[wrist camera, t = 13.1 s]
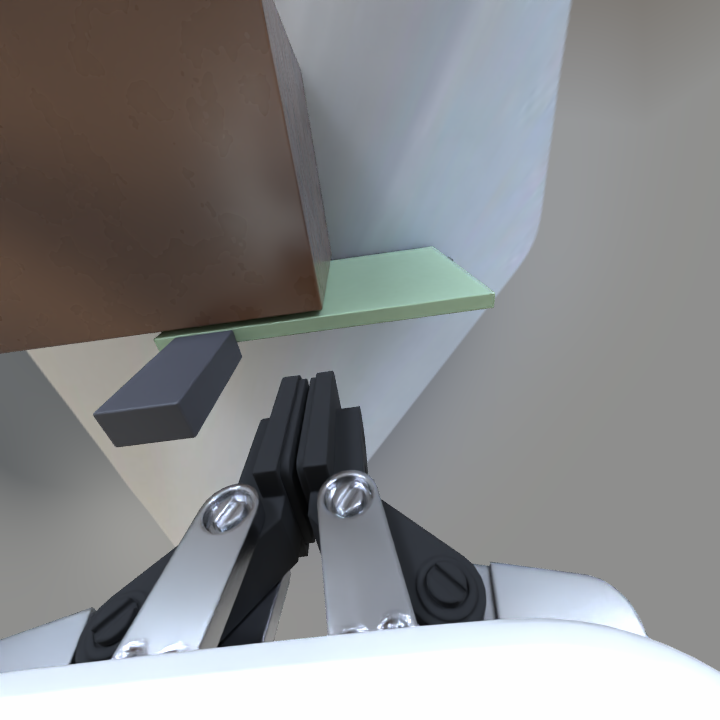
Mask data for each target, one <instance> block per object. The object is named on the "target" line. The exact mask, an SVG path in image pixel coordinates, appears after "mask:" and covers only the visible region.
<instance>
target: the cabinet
mask: <svg viewBox="0 0 720 720" xmlns="http://www.w3.org/2000/svg"><path fill="white" fill-rule="evenodd" d="M331 256H332V254H331V248H330V242H329V236H328V230H327V224H326V218H325V212H324V206H323V200H322V194H321V188H320V182H319V176H318V170H317V164H316V158H315V152H314V146H313V140H312V134H311V128H310V122H309V116H308V110H307V104H306V98H305V92H304V86H303V80H302V74H301V69H300V67H299V64H298V62H297V59H296V57H295V54H294V52H293V49H292V47H291V44H290V42H289V39H288V37H287V34H286V31H285V29H284V26H283V24H282V21H281V19H280V16H279V14H278V11H277V9H276V6H275V4H274V1H273V0H0V354H1V353H9V352H16V351H23V350H31V349H38V348H45V347H53V346H60V345H67V344H75V343H82V342H89V341H97V340H104V339H111V338H118V337H126V336H133V335H140V334H148V333H155V332H162V331H170V330H177V329H184V328H192V327H199V326H206V325H214V324H221V323H228V322H236V321H243V320H250V319H258V318H265V317H272V316H280V315H287V314H294V313H302V312H309V311H316V310H321V309H322V307H323V302H324V296H325V290H326V285H327V279H328V273H329V267H330V261H331ZM448 258H449V259H450V260H452V259H451V258H450V257H448ZM452 261H453V260H452Z"/></svg>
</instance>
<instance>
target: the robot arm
mask: <svg viewBox="0 0 720 720" xmlns="http://www.w3.org/2000/svg"><path fill="white" fill-rule="evenodd" d="M315 539H316V541H317V544H318V547H319V550H320V553H321V558H322V570H323V582H324V594H325V607H326V619H327V631H328V636H321V637H312V638H303V639H293V640H283V641H274V639H275V635H276V631H277V627H278V624H279V620H280V616H281V613H282V609H283V605H284V601H285V598H286V594H287V590H288V586H289V583H290V576H291V572H290V569H291V568H292V567H293V566H294V565H295V564H296V563H297V562H298V558H299V557H304V556H308V549H309V543H314V542H315ZM0 720H720V672H719V671H717V670H715V669H713V668H712V667H710V666H708V665H707V664H705V663H703V662H701V661H699V660H698V659H696V658H694V657H692V656H690V655H687V654H685V653H683V652H681V651H679V650H677V649H674V648H672V647H670V646H668V645H666V644H663V643H660V642H658V641H654V640H652V639H649V638H648V636H647V633H646V631H645V629H644V627H643V625H642V623H641V621H640V618H639V616H638V615H637V613H636V611H635V610H634V608H633V607H632V605H631V604H630V602H629V601H628V600H627V599H626V598H625V597H624V596H623V595H622V594H621V593H620V592H619V591H618V590H617V589H616V588H615V587H613V586H611V585H610V584H608V583H606V582H605V581H603V580H602V579H599V578H596V577H593V576H589V575H586V574H579V573H572V572H564V571H556V570H548V569H541V568H533V567H526V566H518V565H511V564H504V563H495V562H490V565H489V566H485V565H478V564H472V563H471V562H469V561H468V560H467V559H466V558H465V557H464V556H462V555H461V554H460V553H458V552H457V551H455V550H454V549H452V548H451V547H449V546H448V545H447V544H445V543H444V542H442V541H441V540H439V539H438V538H436V537H435V536H434V535H432V534H431V533H429V532H428V531H426V530H425V529H423V528H422V527H421V526H419V525H417V524H416V523H415V522H413V521H412V520H410V519H409V518H407V517H406V516H405V515H403V514H402V513H400V512H399V511H397V510H396V509H395V508H393V507H392V506H390V505H389V504H387V503H386V502H384V501H383V500H381V498H380V494H379V491H378V487H377V485H376V483H375V481H374V480H373V479H372V478H371V477H370V476H369V475H368V469H367V456H366V445H365V436H364V428H363V422H362V415H361V410H360V406H359V407H352V408H344V409H341V405H340V400H339V395H338V390H337V385H336V380H335V375H334V372H333V371H328V372H321V373H317V374H316V378H311V380H310V386H309V384H308V380H307V379H302V378H301V376H300V375H298V376H290V377H284V378H283V379H282V381H281V384H280V387H279V391H278V394H277V397H276V400H275V403H274V406H273V409H272V413H271V416H270V418H266V419H262V420H261V422H260V424H259V426H258V429H257V432H256V435H255V438H254V440H253V443H252V446H251V449H250V452H249V455H248V457H247V460H246V463H245V466H244V469H243V471H242V474H241V477H240V480H239V483H238V484H234V485H230V486H227V487H225V488H222V489H221V490H219V491H218V492H216V493H214V494H213V495H212V496H211V497H210V498H209V499H208V500H206V502H205V503H204V504H203V506H202V507H201V508H200V510H199V511H198V513H197V515H196V516H195V518H194V520H193V522H192V523H191V525H190V527H189V528H188V530H187V532H186V533H185V535H184V537H183V538H182V540H181V542H180V543H179V545H178V546H177V547H175V548H174V549H173V550H171V551H170V552H169V553H168V554H166V555H165V556H164V557H162V558H161V559H160V560H159V561H157V562H156V563H155V564H153V565H152V566H151V567H150V568H148V569H147V570H146V571H144V572H143V573H142V574H141V575H139V576H138V577H137V578H135V579H134V580H133V581H132V582H130V583H129V584H128V585H126V586H125V587H124V588H123V589H121V590H120V591H119V592H118V593H116V594H115V595H114V596H112V597H111V598H110V599H109V600H108V601H107V602H106V603H104V605H102V606H101V607H100V608H99V609H98V610H97V611H96V610H95V609H94V608H89V609H86V610H83V611H80V612H77V613H75V614H72V615H69V616H66V617H63V618H61V619H58V620H55V621H52V622H49V623H46V624H43V625H41V626H38V627H35V628H32V629H29V630H27V631H24V632H21V633H18V634H15V635H12V636H10V637H7V638H4V639H1V640H0Z"/></svg>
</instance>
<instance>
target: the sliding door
mask: <svg viewBox="0 0 720 720" xmlns="http://www.w3.org/2000/svg"><path fill="white" fill-rule="evenodd" d="M494 301H495V292H493V291H492V290H491V289H489V288H488V287H486V286H485V285H484V284H482V283H481V282H480V281H478V280H477V279H476V278H474V277H473V276H472V275H470V274H469V273H468V272H466V271H465V270H464V269H462V268H461V267H460V266H458V265H457V264H456V263H454V262H453V261H452V260H450V259H449V258H448V257H446V256H445V255H443V254H442V253H441V252H439V251H438V250H437V249H435V248H434V247H433V246H431V247H424V248H417V249H410V250H403V251H396V252H389V253H381V254H374V255H367V256H360V257H353V258H346V259H339V260H332V261H330V267H329V273H328V279H327V285H326V290H325V296H324V302H323V307H322V309H321V310H316V311H309V312H302V313H294V314H287V315H280V316H272V317H265V318H258V319H250V320H243V321H236V322H228V323H221V324H214V325H206V326H199V327H192V328H184V329H177V330H170V331H163V332H162V333H161V334H159V335H158V336H157V337H156V338H155V339H154V341H155V343H156V345H157V347H158V349H159V351H160V352H159V353H158V354H157V355H156V356H155V357H154V358H153V359H152V360H150V361H149V362H148V363H147V364H146V365H145V366H144V367H143V368H142V369H141V370H140V371H139V372H138V373H136V374H135V375H134V376H133V377H132V378H131V379H130V380H129V381H128V382H127V383H126V384H125V385H124V386H122V387H121V388H120V389H119V390H118V391H117V392H116V393H115V394H114V395H113V396H112V397H111V398H109V399H108V400H107V401H106V402H105V403H104V404H103V405H102V406H101V407H100V408H99V409H98V410H97V411H95V412H94V413H93V416H94V417H95V419H96V420H97V422H98V423H99V424H100V426H101V427H102V429H103V430H104V431H105V433H106V434H107V436H108V437H109V438H110V440H111V441H112V443H113V444H114V446H115V447H123V446H131V445H139V444H147V443H155V442H163V441H170V440H178V439H186V438H194V437H196V436H197V434H198V432H199V430H200V429H201V427H202V425H203V424H204V422H205V420H206V418H207V417H208V415H209V413H210V412H211V410H212V408H213V406H214V405H215V403H216V401H217V399H218V398H219V396H220V394H221V393H222V391H223V389H224V387H225V386H226V384H227V382H228V381H229V379H230V377H231V375H232V374H233V372H234V370H235V368H236V367H237V365H238V363H239V362H240V360H241V358H242V355H241V352H240V349H239V346H238V344H237V342H242V341H249V340H257V339H264V338H272V337H279V336H286V335H294V334H301V333H309V332H316V331H323V330H331V329H338V328H346V327H353V326H361V325H368V324H375V323H383V322H390V321H398V320H405V319H413V318H420V317H427V316H435V315H442V314H450V313H457V312H464V311H472V310H479V309H487V308H493V307H494Z"/></svg>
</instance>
